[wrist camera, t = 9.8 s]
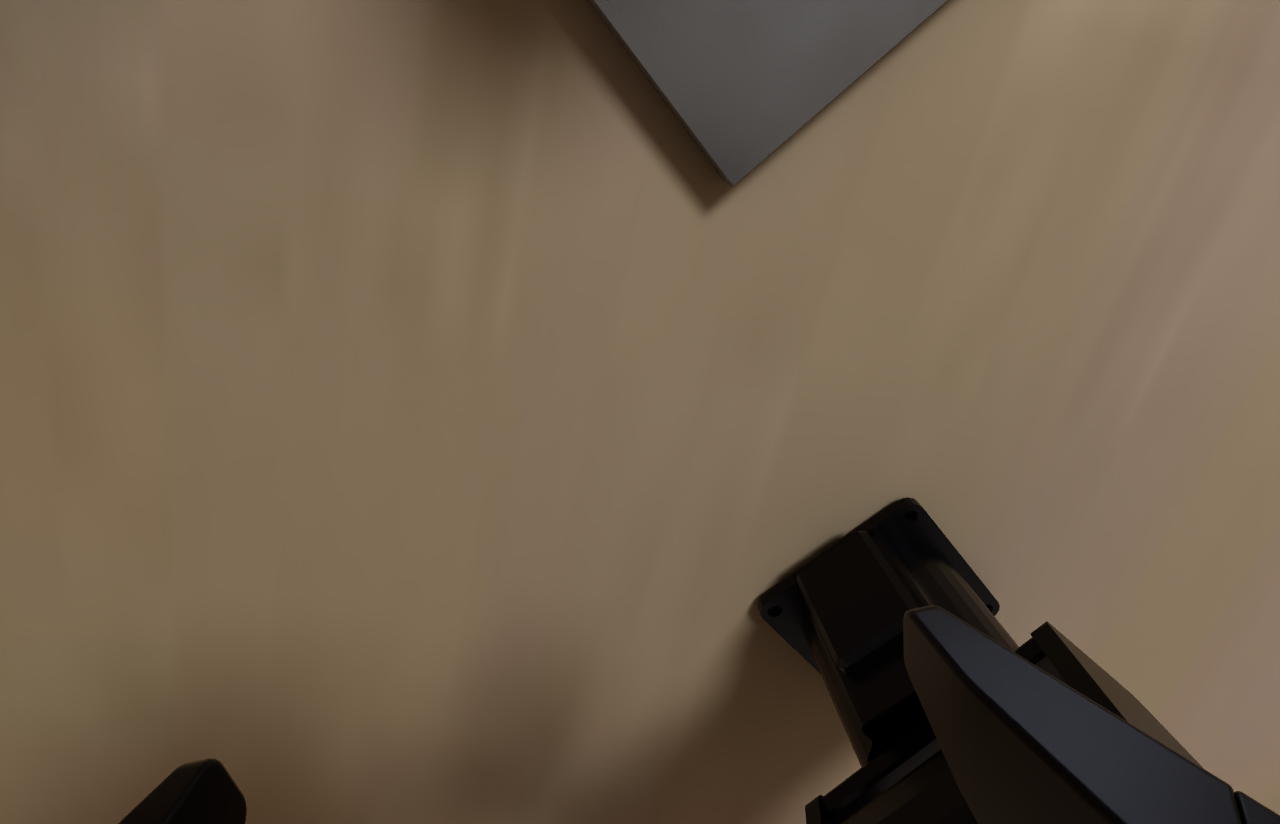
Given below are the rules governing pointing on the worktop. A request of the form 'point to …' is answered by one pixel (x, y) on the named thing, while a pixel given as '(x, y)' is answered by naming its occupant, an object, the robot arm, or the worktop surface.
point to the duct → (755, 62)
